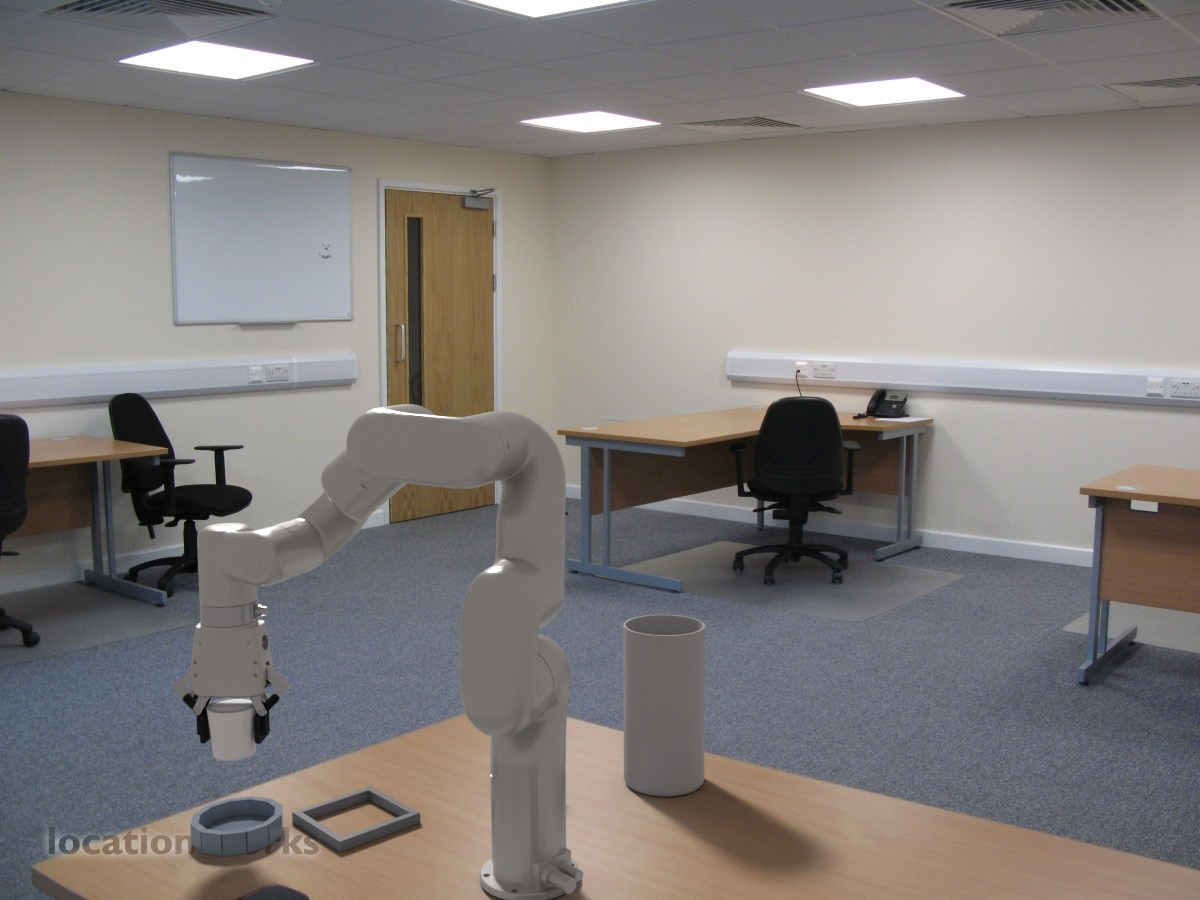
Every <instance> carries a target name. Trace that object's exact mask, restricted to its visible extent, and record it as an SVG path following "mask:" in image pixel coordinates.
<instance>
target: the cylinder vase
mask: <svg viewBox="0 0 1200 900" xmlns="http://www.w3.org/2000/svg"><path fill="white" fill-rule="evenodd" d="M622 633H623V635H622V636H623V637H622V638H623V641H622V642H623V643H622V644H623V646H622V647H623V650H622V651H623V658H622V659H623V660H622V661H623V663H622V664H623V666H622V667H623V780H624V782H625V783H626V785H627V786H628V787H629V788H630V789H631V790H634V791H635V792H637V793H640V794H643V795H647V796H652V797H661V798H662V797H664V798H666V797H670V798H671V797H679V796H683V795H688V794H691V793H693V792H695V791H697V790H698V789H699V788H700V787H701V786H703V784H704V781H705V739H706V738H705V729H706V728H705V722H706V720H705V719H706V718H705V716H706V715H705V714H706V713H705V712H706V709H705V708H706V705H705V704H706V700H705V698H706V697H705V691H706V690H705V689H706V688H705V687H706V683H705V682H706V680H705V679H706V669H705V668H706V654H705V653H706V624H705V623H704V621H701V620H700V619H697V618H694V617H690V616H686V615H679V614H678V615H677V614H676V615H675V614H649V615H641V616H635V617H632V618H629V619H627V620H626V621H624V622H623V631H622Z"/></svg>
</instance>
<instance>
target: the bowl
mask: <svg viewBox="0 0 1200 900" xmlns="http://www.w3.org/2000/svg"><path fill="white" fill-rule="evenodd" d="M283 832H284V809H283V805H282V804H281V803H279V802H277V801H276V800H274V799H273V798H269V797H261V796H254V795H252V796H240V797H232V798H226V799H224V800H220V801H219V800H218V801H217V802H213V803H211V804H207V805H206V806H204V807H202V808H200V809H199V810H198V811H196V812H194V813H193V815H192V818H191V820H190V840H191V843H190V844H192V845H191V846H192V847H193V846H194V847H195V848H196V849H195V848H194V847H193V848H194V849H195V850H197V851H198V852H199V853H201V854H204V855H211V856H218V857H226V856H228V857H229V856H236V855H243V854H249V853H253V852H255V851H259V850H262V849H264V848H266V847H269V846H271V845H272V844H274V843H275V842H277V840H279V839H280V838H282V836H283V834H284V833H283Z"/></svg>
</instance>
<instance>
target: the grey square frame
mask: <svg viewBox="0 0 1200 900" xmlns="http://www.w3.org/2000/svg"><path fill="white" fill-rule="evenodd" d="M366 801H370V802H371V803H374V804H375V805H377V806H379V807H381V808H383V809H385V810H387V811H388V812H390V813H392V814H394V815H395V816H397V817H395V818H392V819H389V820H386V821H383V822H380V823H377V824H375V825H372V826H369V827H367V828H363V829H361V830H358V831H355V832H353V833H350V834H346V835H344V836H341V835H340V834H338V833H336V832H335V831H333V830H332V829H330V828H328V826H327V827H326V826H325V825H324V824H322V823H321V822H318V820H315V818H319V817H323V816H325V815H328V814H331V813H334V812H336V811H340V810H343V809H346V808H348V807H352V806H354V805H357V804H360V803H363V802H366ZM291 816H292V817H291V818H292V823H293V824H295V825H296V826H297V827H299V828H301V829H303V830H304V831H306V832H307V833H309V834H310V835H312V836H313V837H315V838H317V839H318V840H319V841H322V842H323V843H324V844H326V845H327V846H329V847H331V848H332V849H334V850H336V851H337V852H339V853H342V852H344V851H347V850H351V849H354V848H356V847H358V846H362V845H364V844H366V843H369V842H372V841H374V840H377V839H381V838H383V837H386V836H389V835H391V834H393V833H396V832H399V831H403V830H404V829H407V828H411V827H412V826H416V825H418V824H421V812H419V811H418V810H416V809H414V808H413V807H410V806H409V805H407V804H405V803H403V802H401V801H399V800H397V799H396V798H393V797H392V796H390V795H388V794H386V793H384V792H382V791H380V790H379V789H376V788H374V787H373V786H371V785H370V786H367V787H364V788H362V789H359V790H356V791H352V792H349V793H346V794H344V795H340V796H337V797H334V798H331V799H329V800H325V801H322V802H319V803H315V804H313V805H310V806H307V807H304V808H300V809H298V810H295V811H292V812H291ZM415 824H416V825H415Z"/></svg>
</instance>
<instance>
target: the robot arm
mask: <svg viewBox="0 0 1200 900" xmlns="http://www.w3.org/2000/svg"><path fill="white" fill-rule="evenodd" d="M345 443H346V448H345V449H344V450H343V451H342V452H340V453H339V454H338V455H337V456H336V457H335V458H334V459H333V460H331V461H330V462H329V463H328V464H327V465H326V466H325V467H324V468H323V470H322V472H321V477H320V478H321V481H320V482H321V486H322V489H323V492H322V493H321V495H320V496H318V498H317V499H316V500H314V501H313V502H312V503H311V504H310V505H309V506H308V507H306V509H304V510H303V511H302V512H301V513H300V514H298V515H297V516H296V517H294V518H292V519H291V520H287V521H283V522H280V523H277V524H273V525H270V526H266V527H262V528H260V529H256V530H254V528H253V527H252V526H251V525H249V524H246V523H242V522H222V523H214V524H210V525H205V526H203V527H202V528H201V529H200V530H199V532H198V534H197V537H196V538H197V539H196V540H197V541H196V543H197V545H196V547H197V548H196V549H197V571H198V592H199V593H198V595H199V618H200V619H199V623H197V624H196V626H195V630H194V635H193V641H192V643H193V644H192V650H191V665H190V667H191V668H190V670H188V672H186V674H184V675H183V676H182V677H181V678H180V679H178V680H177V681H176V682H175V683H174V684H173V685H172V690H173V691H174V692H175V694H177V695H178V696H179V697H180V698H181V699H182V701H183V703H184V704H185V705H186V706H188V708H190V709H191V710H192V713H193V715H194V716H195V717H196V735H197V736H199V743H200V744H205V745H206V743H208V742H209V741H211V737H210V730H209V723H208V715H207V708H206V707H207V706H208V705H209V704H210V703H212V700H213V698H222V699H225V698H250V700H251V702H252V703H253V705H254V707H255V709H256V711H257V714H256V715H255V716H254V738H255V743H256V745H261V744H262V743H263V742H264V741H265V739H266V738H267V737H268V736H269V735H270V732H271V730H270V729H271V728H270V727H271V725H270V724H271V723H270V722H271V721H270V720H271V719H270V711H271V709H273V707H274V706H275V705H277V703H278V702H279V701H280V700H281V699H282V698H283V697H284V695H285V694H286V693H287V692H288V690H289V689H290V688H291V686H292V683H291V682H290V681H288V680H287V679H286V678H285V677H284V676H283V675H281V674H280V673H279V671H277V670H275V669H274V668H273V659H272V652H271V645H270V640H269V639H270V638H269V633H268V629H267V625H266V623H265V620H263V619H260V617H263V616H268V614H269V607H268V606H267V605H262V604H261V603H260V599H258V587H270V586H273V585H277V584H279V583H282V582H284V581H287V580H290V579H291V578H292V579H293V578H294V577H297V576H299V575H300V576H301V575H302V574H305V573H308V572H310V571H313V570H314V569H316V568H317V567H319V566H321V565H322V564H324V563H325V562H327V560H328V559H330V558H331V557H333V555H335V554H336V553H337V552H338V551H340V549H342V548H343V547H344V546H345V545H347V544H348V543H349V542H350V541H351V540H353V538H354V537H355V536H356V535H357V534H358V533H359V532H360V531H361V529H362V528H363V526H364V525H365V524H366V523H367V522H368V520H369V518H370V516H371V515H372V514H374V513H375V512H376V511H377V510H378V509H379V508H380V507H381V506H382V505H384V504H385V503H386V502H387V501H388V500H389V499H391V498H392V497H393V496H394V495H395V494H397V493H398V492H399V491H401V489H403V488H404V487H405V486H406V485H408V484H411V485H418V486H419V485H421V486H428V487H429V486H430V487H436V488H446V489H456V490H459V489H460V490H465V489H466V490H469V489H476V488H480V487H483V486H487V485H489V484H492V483H496V482H499V483H500V485H501V496H500V499H499V505H498V507H497V512H496V513H497V514H496V521H495V524H496V525H495V526H496V527H495V528H496V529H495V530H496V541H495V556H494V557H495V558H494V562H493V564H492V565H491V566H489V567H487V568H486V569H484V570H483V571H481V573H479V574H477V576H476V577H475V578H474V579H473V580H472V582H471V583H470V585H469V586H468V587H467V588H468V589H467V591H466V594H465V596H464V598H463V603H462V608H461V616H460V617H461V618H460V619H461V621H460V665H459V666H460V668H459V669H460V671H459V672H460V673H459V675H460V676H459V678H460V680H459V687H460V688H459V689H460V690H459V691H460V700H461V704H462V707H463V711H464V713H465V715H466V717H467V719H468V720H469V721H470V723H471V724H472V725H473V727H475V729H477V731H479V732H481V733H482V734H484V735H487V736H489V737H490V746H489V747H490V748H489V749H490V750H489V751H490V752H489V753H490V756H489V757H490V770H489V771H490V824H491V825H490V826H491V827H490V828H491V833H490V834H491V837H490V838H491V858H489V859H488V860H486V862H484V863H483V865H482V866H481V868H480V870H479V882H480V885H481V887H482V888H483V889H484V891H485V892H487V893H489V894H490V895H491V896H494V897H496V898H497V899H501V900H552V899H555V898H557V897H560V896H562V895H564V894H567V895H570V894H573V892H575V890H576V888H577V883H578V882H580V881H581V880H582V879H583V878H584V872H583V870H581V869H579V866H578V864H577V862H576V861H575V860H574V859H573V858H572V850H571V849H569V848H567V813H566V812H567V798H566V797H567V796H566V795H567V789H566V785H567V784H566V779H567V777H566V775H567V772H566V769H567V768H566V766H567V765H566V764H567V763H566V761H567V759H566V758H567V756H566V755H567V752H566V751H567V746H566V745H567V743H566V742H567V741H566V739H567V732H566V731H567V717H568V708H569V701H570V700H569V699H570V690H571V670H570V664H569V662H568V661H569V660H568V658H567V655H566V653H565V652H564V650H563V649H562V646H560V644H558V642H556V641H555V640H554V639H552V638H551V637H549V636H546V635H544V634H541V633H539V631H540V630H541V629H542V628H544V627H545V626H546V625H547V624H549V623H550V622H551V621H553V620H554V619H555V618H556V616H557V615H558V614H559V612H560V611H561V610H562V607H563V603H564V600H565V566H566V565H565V562H566V561H565V560H566V532H565V531H566V503H567V501H566V500H567V497H566V496H567V494H566V493H567V490H566V489H567V486H566V485H567V484H566V483H567V479H566V471H565V469H566V468H565V465H564V461H563V457H562V454H561V452H560V450H559V448H558V446H557V444H556V442H555V440H554V439H553V438H552V436H551V435H550V434H549V433H548V432H547V431H546V430H545V429H544V427H542V426H541V425H539V424H538V423H537V422H536V421H534V420H532V419H530V418H528V417H526V416H525V415H522V414H519V413H516V412H511V411H502V410H497V411H495V410H494V411H489V412H483V413H478V414H472V415H468V416H462V417H461V416H460V417H459V416H445V415H444V416H443V415H436V414H435V413H433V412H432V411H431V410H430V409H427V407H424V406H422V405H419V404H415V403H414V404H413V403H412V404H411V403H405V404H403V403H402V404H396V405H395V404H393V405H388V406H382V407H381V406H380V407H375V408H371V409H370V410H367V411H366V412H363V413H362V414H361V415H359V416H358V417H357V418H356V419H355V420H354V421H353V423H352V424H351V426H350V427H349V430H348V432H347V436H346V442H345ZM190 683H191V688H190V686H189V684H190ZM272 685H273V686H274V687H275V690H274V692H273V693H272V694H271V695H270V697H269V695H268V693H267V692H266V690H265V689H267V688H269V687H271V686H272Z"/></svg>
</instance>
